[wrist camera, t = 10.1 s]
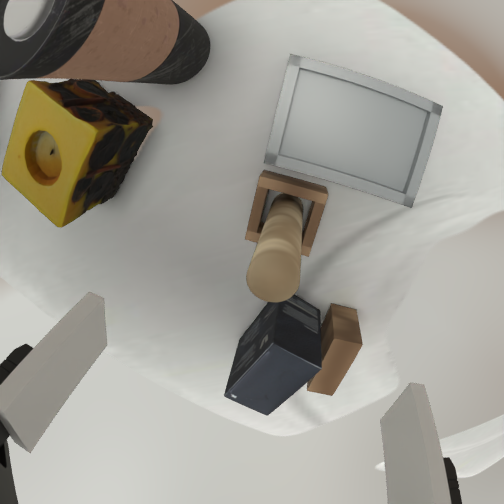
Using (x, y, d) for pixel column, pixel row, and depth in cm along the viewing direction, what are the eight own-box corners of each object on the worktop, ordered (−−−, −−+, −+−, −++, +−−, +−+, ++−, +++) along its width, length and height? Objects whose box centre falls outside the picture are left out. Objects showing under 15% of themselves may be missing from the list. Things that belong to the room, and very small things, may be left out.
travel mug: (216, 13, 23) (95, -87, 5) (210, 86, 27) (64, 62, 9) (143, 20, 24) (-11, -29, 6) (138, 88, 28) (-31, 95, 10)
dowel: (268, 217, 31) (241, 294, 19) (275, 188, 30) (252, 249, 17) (298, 225, 31) (291, 307, 19) (306, 197, 30) (306, 263, 17)
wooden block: (308, 354, 38) (306, 390, 32) (331, 303, 34) (334, 338, 29) (330, 359, 37) (332, 395, 32) (356, 309, 34) (362, 344, 29)
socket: (250, 227, 32) (244, 239, 29) (264, 169, 29) (259, 176, 27) (308, 243, 32) (308, 256, 29) (326, 186, 29) (328, 194, 26)
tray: (266, 159, 29) (263, 163, 27) (291, 57, 24) (290, 53, 23) (405, 202, 28) (411, 208, 26) (434, 106, 24) (442, 106, 22)
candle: (91, 77, 27) (27, 76, 19) (158, 119, 29) (101, 127, 20) (58, 153, 32) (-3, 173, 23) (115, 198, 33) (59, 231, 24)
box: (276, 359, 39) (267, 418, 30) (238, 338, 38) (220, 396, 30) (322, 309, 35) (324, 370, 26) (280, 285, 34) (270, 342, 26)
